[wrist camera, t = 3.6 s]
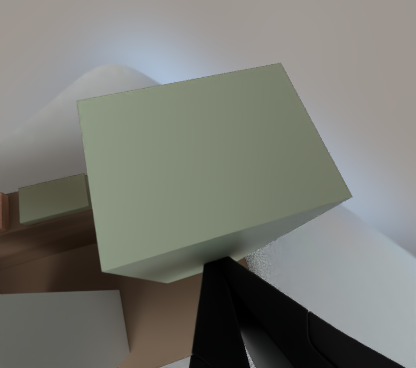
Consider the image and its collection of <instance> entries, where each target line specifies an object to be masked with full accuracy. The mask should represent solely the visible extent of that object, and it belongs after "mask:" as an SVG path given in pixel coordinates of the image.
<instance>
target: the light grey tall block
mask: <svg viewBox="0 0 416 368" xmlns="http://www.w3.org/2000/svg"><path fill="white" fill-rule="evenodd" d="M129 354H130V351H129V345H128V339H127V333H126V327H125V321H124V315H123V309H122V303H121V297H120V291H119V290H104V291H76V292H49V293H22V294H0V368H118V366H119V365H120V364H121V363H122V362H123V361H124V360H125V359H126V358H127V357H128V355H129Z"/></svg>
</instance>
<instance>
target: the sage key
mask: <svg viewBox="0 0 416 368" xmlns="http://www.w3.org/2000/svg"><path fill="white" fill-rule="evenodd" d="M77 107H78V114H79V120H80V127H81V134H82V141H83V147H84V154H85V161H86V168H87V175H88V181H89V188H90V195H91V202H92V209H93V215H94V222H95V229H96V236H97V243H98V249H99V256H100V263H101V270H102V272H106V273H112V274H118V275H123V276H129V277H135V278H140V279H146V280H152V281H157V282H163V283H170V282H173V281H177V280H180V279H183V278H186V277H189V276H192V275H195V274H198V273H202V272H203V265H204V264H205V263H208V262H211V261H215V260H218V259H221V258H224V257H227V256H229V257H231V258H232V259H234V260H235V261H238V260H240V259H242V258H244V257H245V256H247V255H249V254H251V253H253V252H254V251H256V250H258V249H260V248H262V247H263V246H265V245H267V244H269V243H271V242H272V241H274V240H276V239H278V238H280V237H281V236H283V235H285V234H287V233H288V232H290V231H292V230H294V229H296V228H297V227H299V226H301V225H303V224H305V223H306V222H308V221H310V220H312V219H314V218H315V217H317V216H319V215H321V214H323V213H324V212H326V211H328V210H330V209H331V208H333V207H335V206H337V205H339V204H340V203H342V202H344V201H346V200H348V199H349V198H351V197H352V195H351V193H350V191H349V189H348V188H347V185H346V184H345V182H344V180H343V178H342V176H341V174H340V172H339V171H338V169H337V167H336V165H335V163H334V161H333V159H332V158H331V156H330V154H329V152H328V150H327V148H326V147H325V145H324V143H323V141H322V139H321V137H320V135H319V133H318V131H317V130H316V128H315V126H314V124H313V122H312V121H311V118H310V116H309V115H308V113H307V111H306V109H305V107H304V105H303V103H302V102H301V100H300V98H299V96H298V94H297V92H296V91H295V89H294V87H293V85H292V83H291V81H290V79H289V77H288V75H287V74H286V72H285V70H284V68H283V66H282V64H281V63H278V64H272V65H267V66H262V67H256V68H251V69H245V70H240V71H235V72H229V73H224V74H218V75H213V76H208V77H202V78H197V79H192V80H186V81H181V82H175V83H170V84H165V85H159V86H154V87H148V88H143V89H138V90H132V91H127V92H121V93H116V94H111V95H105V96H100V97H95V98H89V99H84V100H78V101H77Z"/></svg>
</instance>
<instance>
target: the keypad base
mask: <svg viewBox="0 0 416 368" xmlns="http://www.w3.org/2000/svg"><path fill="white" fill-rule="evenodd" d="M237 262H238V263H240V264H241V265H243V266H244V267H246V268H247V269H248V270H249V268H248V265H247V262H246V260H245V257H244V258H242V259H240V260H238V261H237ZM201 280H202V273H198V274H195V275H192V276H189V277H186V278H183V279H180V280H177V281H173V282H170V283H163V282H157V281H152V280H146V279H140V278H135V277H129V276H123V275H118V274H112V273H106V272H102V270H101V263H100V256H99V249H98V243H97V236H96V229H95V222H94V215H93V209H92V202H91V195H90V188H89V181H88V175H85V174H84V173H83V174H79V175H74V176H70V177H66V178H61V179H57V180H53V181H49V182H44V183H40V184H36V185H31V186H27V187H23V188H19V191H18V192H13V193H9V194H3V193H0V294H22V293H49V292H76V291H104V290H119V291H120V297H121V303H122V309H123V315H124V321H125V327H126V333H127V339H128V345H129V351H130V354H129V355H128V357H127V358H126V359H125V360H124V361H123V362H122V363H121V364H120V365H119V366H118V368H159V367H162V366H165V365H167V364H170V363H173V362H175V361H178V360H181V359H183V358H186V357H189V356H191V355H192V354H191V352H192V344H193V337H194V330H195V323H196V316H197V308H198V301H199V294H200V287H201Z"/></svg>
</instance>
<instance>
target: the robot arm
mask: <svg viewBox="0 0 416 368" xmlns="http://www.w3.org/2000/svg"><path fill="white" fill-rule="evenodd" d="M244 344H245V346H246V348H247V350H248V352H249V354H250V356H251V359H252V361H253V363H254V365H255V367H256V368H405V367H403V366H402V365H400V364H398V363H396V362H394V361H393V360H391V359H389V358H387V357H385V356H384V355H382V354H380V353H378V352H376V351H375V350H373V349H371V348H369V347H367V346H365V345H364V344H362V343H360V342H358V341H357V340H355V339H353V338H352V337H350V336H348V335H346V334H345V333H343V332H341V331H340V330H338V329H336V328H335V327H333V326H332V325H330V324H329V323H327V322H326V321H324V320H322V319H321V318H319V317H318V316H316V315H315V314H314V313H312V312H309V313H308V310H307V309H306V308H305V307H303V306H302V305H300V304H299V303H297V302H296V301H294V300H293V299H291V298H290V297H288V296H287V295H285V294H284V293H282V292H281V291H279V290H278V289H276V288H275V287H274V286H272V285H271V284H269V283H268V282H266V281H265V280H263V279H262V278H260V277H259V276H257V275H256V274H254V273H253V272H251V271H250V270H248V269H247V268H246V267H244V266H243V265H241V264H240V263H238V262H237V261H235V260H234V259H232V258H231V257H229V256H227V257H224V258H221V259H218V260H215V261H211V262H208V263H205V264H204V265H203V272H202V280H201V287H200V294H199V301H198V308H197V316H196V323H195V330H194V337H193V344H192V352H191V354H192V355H191V358H190V365H189V368H250V365H249V361H248V357H247V354H246V350H245V346H244Z"/></svg>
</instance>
